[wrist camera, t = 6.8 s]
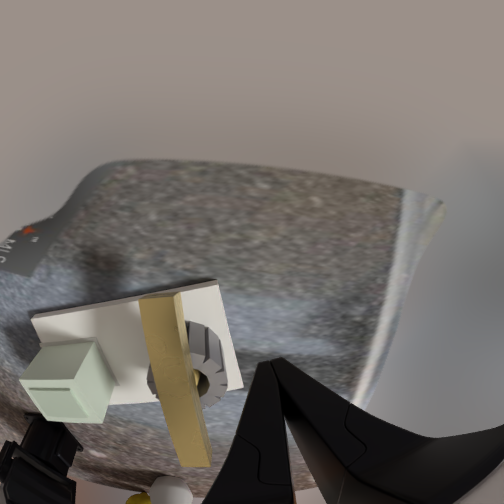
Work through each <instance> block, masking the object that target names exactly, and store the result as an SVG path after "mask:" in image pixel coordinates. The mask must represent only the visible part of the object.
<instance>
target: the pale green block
mask: <svg viewBox="0 0 504 504" xmlns="http://www.w3.org/2000/svg"><path fill="white" fill-rule="evenodd" d="M19 381H20V382H21V384H22V385H23V387H24V389H25V390H26V392H27V393H28V395H29V396H30V398H31V399H32V400H33V402H34V403H35V405H36V406H37V408H38V409H39V410H40V412H41V413H42V414H43V416H44V417H45V418H46V420H47V421H58V422H72V423H103V420H104V417H105V414H106V411H107V407H108V404H109V401H110V398H111V395H112V392H113V389H114V386H115V381H114V380H113V378H112V376H111V374H110V372H109V370H108V368H107V366H106V364H105V363H104V361H103V359H102V356H101V354H100V352H99V350H98V348H97V346H96V344H95V342H94V341H93V342H85V343H76V344H67V345H58V346H47V347H42V349H41V350H40V351H39V353H38V354H37V355H36V356H35V358H34V359H33V360H32V362H31V363H30V365H29V366H28V367H27V369H26V370H25V371H24V373H23V374H22V376H21V377H20V378H19Z"/></svg>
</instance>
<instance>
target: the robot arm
mask: <svg viewBox="0 0 504 504" xmlns="http://www.w3.org/2000/svg"><path fill="white" fill-rule="evenodd" d="M284 417H285V419H284ZM24 418H25V419H26V420H27V422H28V423H29V424H30V426H29V428H28V430H27V432H26V434H25V436H24V438H23V440H22V442H21V444H20V445H18V444H17V442H15V441H13V442H10V441H7V440H6V441H5V443H4V445H3V447H2V450H1V452H0V482H1V484H0V504H75V495H76V482H75V481H74V480H71V479H69V478H67V477H66V476H67V473H68V469H69V467H71V466H72V463H73V459H74V456H75V453H76V451H80V452H82V451H83V447H82V446H81V445H80V444H79V442H78V441H77V440H76V439H75V438H74V437H73V435H72V434H71V433H70V432H69V430H68V429H67V428H66V427H65V425H64V424H63V423H62V422H58V421H47V420H46V418H45V417H44V416H43V415H35V414H27V413H25V414H24ZM285 420H286V422H287V425H288V427H289V429H290V431H291V433H292V435H293V437H294V439H295V442H296V444H297V446H298V448H299V450H300V452H301V454H302V456H303V458H304V460H305V462H306V464H307V466H308V468H309V470H310V472H311V474H312V476H313V478H314V480H315V482H316V484H317V486H318V488H319V490H320V492H321V494H322V496H323V497H324V499H325V501H326V503H327V504H504V424H503V425H501V426H498V427H496V428H492V429H488V430H483V431H478V432H473V433H468V434H462V435H456V436H450V437H442V438H431V437H425V436H421V435H418V434H415V433H413V432H410V431H408V430H405V429H402V428H400V427H398V426H395V425H393V424H390V423H388V422H386V421H383V420H381V419H379V418H377V417H375V416H373V415H371V414H369V413H367V412H365V411H364V410H362V409H360V408H358V407H357V406H355V405H354V404H352V403H350V402H349V401H347V400H346V399H344V398H342V397H341V396H339V395H338V394H336V393H335V392H333V391H331V390H330V389H328V388H327V387H325V386H324V385H322V384H321V383H319V382H318V381H316V380H315V379H313V378H312V377H310V376H309V375H307V374H306V373H304V372H303V371H302V370H300V369H299V368H297V367H296V366H294V365H293V364H291V363H290V362H289V361H287V360H286V359H284V358H283V357H279V358H275V359H271V360H270V361H269V360H267V361H263V362H259V363H257V365H256V369H255V372H254V375H253V379H252V382H251V385H250V389H249V392H248V395H247V399H246V402H245V405H244V408H243V411H242V415H241V418H240V421H239V424H238V427H237V430H236V435H235V436H234V439H233V442H232V445H231V448H230V450H229V453H228V456H227V458H226V460H225V462H224V464H223V466H222V468H221V470H220V472H219V474H218V476H217V477H216V479H215V481H214V483H213V485H212V486H211V488H210V490H209V492H208V493H207V495H206V497H205V499H204V500H203V502H202V504H297V503H296V496H295V489H294V481H293V474H292V467H291V460H290V453H289V446H288V439H287V432H286V425H285ZM12 457H13V458H14V459H12Z"/></svg>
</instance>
